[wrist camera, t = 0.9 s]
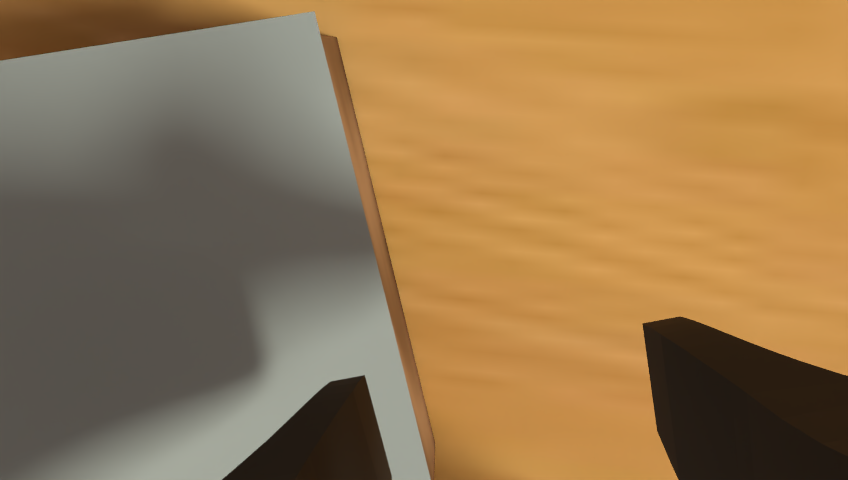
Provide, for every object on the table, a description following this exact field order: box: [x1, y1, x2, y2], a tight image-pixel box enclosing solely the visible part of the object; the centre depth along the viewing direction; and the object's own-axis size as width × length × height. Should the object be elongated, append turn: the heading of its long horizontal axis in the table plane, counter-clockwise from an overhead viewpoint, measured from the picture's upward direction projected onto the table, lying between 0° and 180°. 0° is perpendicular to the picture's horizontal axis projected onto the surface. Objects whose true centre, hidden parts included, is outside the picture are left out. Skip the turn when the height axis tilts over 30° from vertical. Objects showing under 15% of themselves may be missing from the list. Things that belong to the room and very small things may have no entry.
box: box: [320, 35, 435, 480], centre depth 19 cm, size 14×10×5 cm
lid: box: [0, 12, 431, 480], centre depth 14 cm, size 15×11×3 cm
